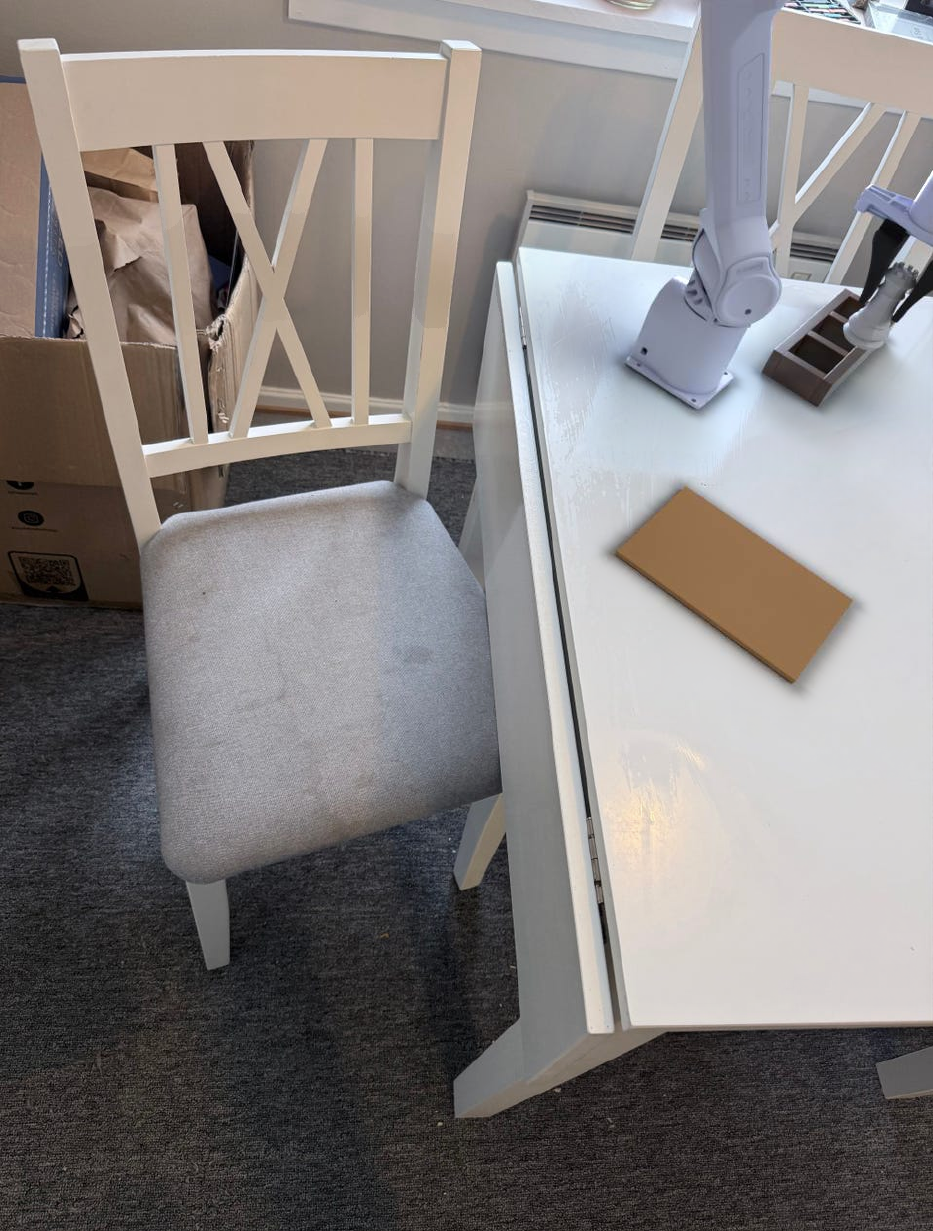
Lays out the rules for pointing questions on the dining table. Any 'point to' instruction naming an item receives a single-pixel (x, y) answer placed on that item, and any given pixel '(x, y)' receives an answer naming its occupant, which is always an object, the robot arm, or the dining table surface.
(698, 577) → the cork mat
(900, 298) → the rook chess piece
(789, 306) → the dining table surface
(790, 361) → the stand
